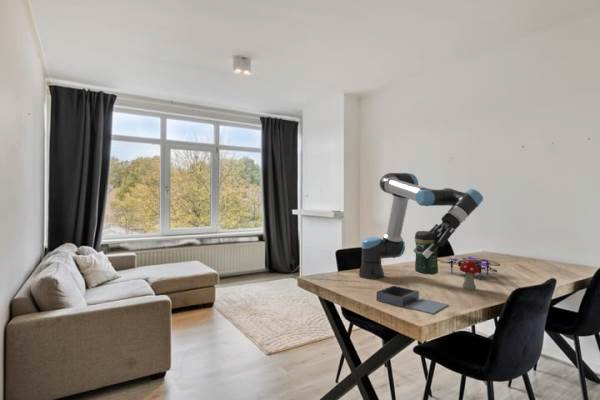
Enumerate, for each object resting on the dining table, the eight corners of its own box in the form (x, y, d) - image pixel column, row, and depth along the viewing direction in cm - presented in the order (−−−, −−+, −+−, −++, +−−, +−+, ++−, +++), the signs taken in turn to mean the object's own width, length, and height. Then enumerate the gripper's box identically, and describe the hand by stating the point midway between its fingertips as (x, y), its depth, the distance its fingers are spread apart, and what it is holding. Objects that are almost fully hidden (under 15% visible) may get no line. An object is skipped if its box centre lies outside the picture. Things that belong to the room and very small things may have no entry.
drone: (431, 256, 215) (458, 252, 229) (431, 271, 215) (458, 266, 229) (493, 267, 181) (520, 262, 195) (493, 285, 181) (520, 278, 195)
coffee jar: (441, 274, 143) (441, 231, 143) (426, 276, 141) (426, 232, 140) (426, 269, 152) (426, 229, 152) (412, 271, 150) (411, 230, 149)
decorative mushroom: (455, 287, 177) (455, 259, 177) (467, 285, 180) (467, 258, 180) (471, 292, 168) (471, 262, 168) (483, 290, 171) (483, 261, 171)
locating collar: (376, 300, 155) (376, 291, 155) (393, 293, 166) (393, 285, 166) (402, 307, 145) (402, 298, 145) (418, 299, 156) (418, 291, 156)
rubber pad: (406, 307, 145) (406, 306, 145) (422, 299, 156) (422, 298, 156) (433, 314, 136) (433, 313, 136) (448, 305, 148) (448, 304, 148)
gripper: (474, 226, 136) (437, 265, 135) (446, 222, 158) (415, 255, 157) (462, 213, 136) (424, 252, 135) (436, 211, 158) (404, 244, 157)
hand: (419, 254), depth 146 cm, fingers closed on coffee jar, 9 cm apart
